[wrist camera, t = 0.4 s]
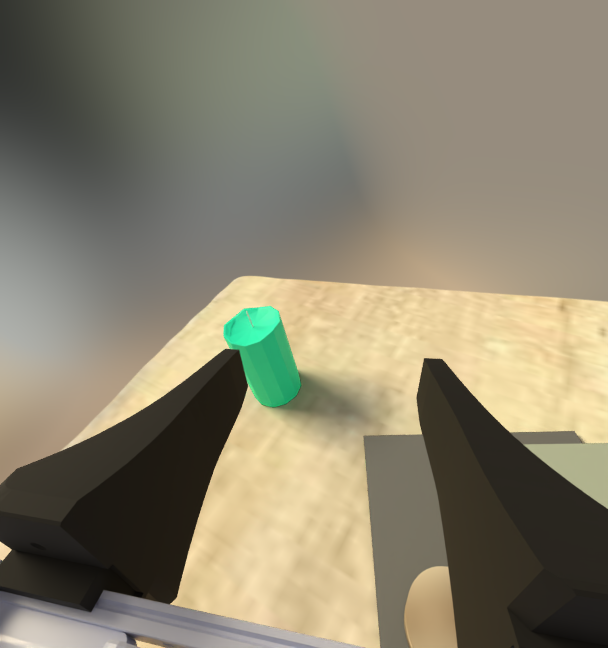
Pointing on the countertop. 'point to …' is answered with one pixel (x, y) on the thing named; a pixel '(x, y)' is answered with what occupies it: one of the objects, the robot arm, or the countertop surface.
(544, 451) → the tower top
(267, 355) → the candle
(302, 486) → the countertop surface
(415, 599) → the tan rounded cylinder
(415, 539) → the mat
